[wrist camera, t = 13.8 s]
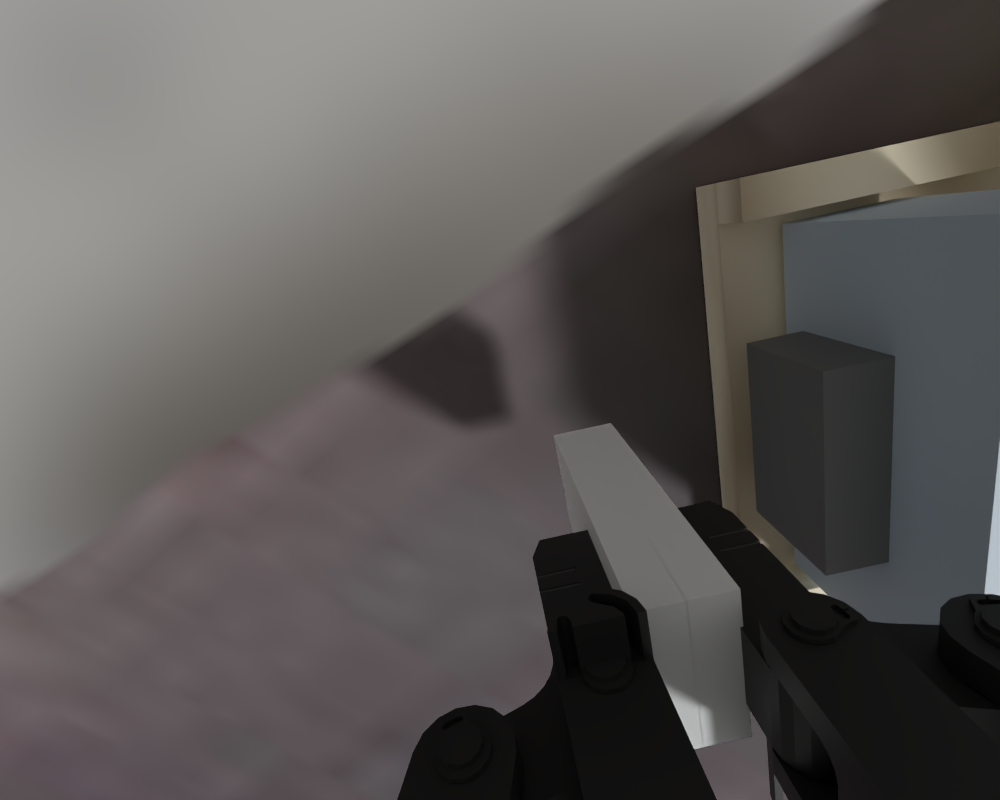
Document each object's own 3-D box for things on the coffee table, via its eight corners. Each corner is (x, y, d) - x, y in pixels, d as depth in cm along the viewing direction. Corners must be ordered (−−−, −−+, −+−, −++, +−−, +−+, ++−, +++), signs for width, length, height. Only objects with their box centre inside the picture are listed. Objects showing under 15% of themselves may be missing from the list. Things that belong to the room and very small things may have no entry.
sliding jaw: (748, 573, 16) (899, 751, 11) (725, 236, 13) (922, 234, 8) (905, 538, 16) (1140, 698, 11) (920, 193, 13) (1263, 160, 8)
